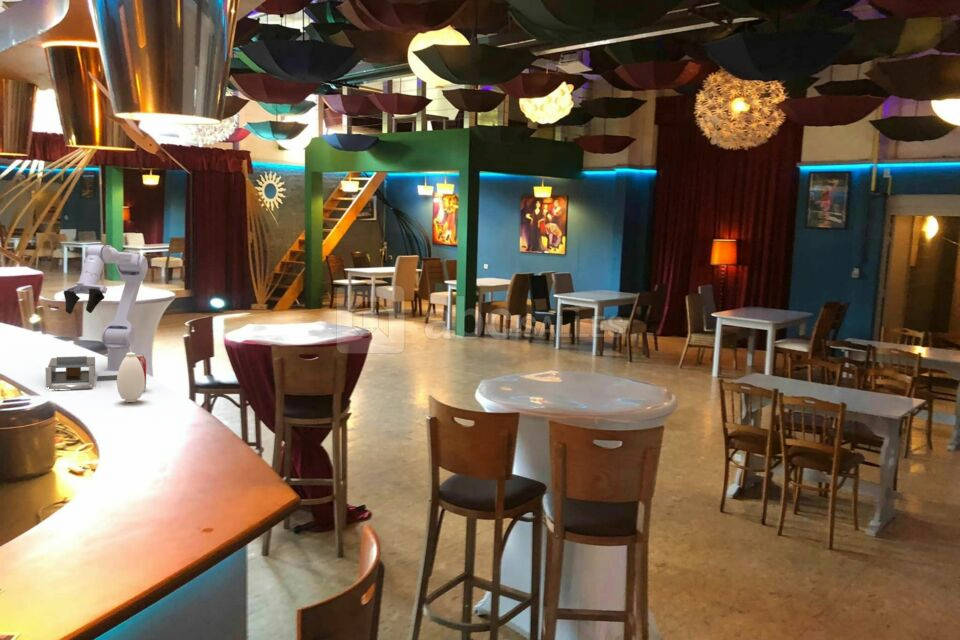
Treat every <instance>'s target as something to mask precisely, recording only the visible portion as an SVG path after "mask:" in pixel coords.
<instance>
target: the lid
mask: <svg viewBox="0 0 960 640" xmlns="http://www.w3.org/2000/svg"><path fill="white" fill-rule="evenodd" d="M94 362H95V363H96V356H86V355H85V356H84V355H83V356H82V355H80V356H56V357H51V359H50V361H49V363H48V367H51V368H56V369H66V368H72V367H81V368H89V366H94Z"/></svg>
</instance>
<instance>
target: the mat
mask: <svg viewBox="0 0 960 640" xmlns="http://www.w3.org/2000/svg"><path fill="white" fill-rule="evenodd" d="M117 375H118V374H117ZM117 375H115V374H114V375H113V374H112V375H111V374H110V375H97V377H96V382H106V381H107V382H108V381H113V382H114V381H117Z"/></svg>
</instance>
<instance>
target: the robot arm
mask: <svg viewBox="0 0 960 640" xmlns="http://www.w3.org/2000/svg"><path fill="white" fill-rule="evenodd" d="M148 262H149V261H148V259H147V257H146V256H145V255H141V254H138V253H133V252H128V251H127V252H126V251H125V252H124V251H118V249H116V248H115V247H113V245H110V244H109V245H107V244H106V245H105V244H99V245H89V246H86V248H85V249H84V258H83V263H84V264H83V268H82V270H81V272H80V273H81V274H80V276H79V280H78V281H76V284H74V285H70V286H68V287H65V288H64V290H63V295H64V301H65V312H66V313H67V314H69V315H70V314H72V313H73V310H74V308H75V307H76V304H77V303H78V301H79V300H80V299H81V298H80V297H79V296H78V295H79V294H82V295H83V294H84V295H88V299H87V303H86V308H85V310H86V312H87V313H89V314H90V313H91V314H92V313H93V311H94V309H95V308H96V307H97V306H98V304H99V303H101V301H102V300H104V299H105V297H106V296H105V294H106V293H107V291H108V288H107V287H106V286H105V285H103V284H102V285H99V281H100V278H101V275H102V271H103V268H104V266H105V264H115V268H116V270H117V272H118V275H119V277H120V279H121V280H122V281H124V282H125V284H124V287H123V291H122V294H121V298H120V300H119V304H118V307H117V310H116V313H115V317H114V319H113V320H112V321H109V322H107V323H106V325H105V327H104V329H103V330H102V333H101V342H102V343H103V345H104V346H105V348H107V351H106V352H107V369H105V370H104V372H118V371H119V368H120V365H121V363H122V361H123V359H124V357H125V355H126V354H127V353H130V345H131V346H132V345H133V344H134V342H135V335H136V328H135V326H134V325H133V324H132V323H130V322H131V319H132V315H133V311H134V308H135V304H136V301H137V298H138V294H139V292H140V291H139V290H140V287H141V283H142V282H143V281H144V280H145V278H146V275H147V273H148V268H149V265H148Z"/></svg>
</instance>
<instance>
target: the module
mask: <svg viewBox="0 0 960 640" xmlns="http://www.w3.org/2000/svg"><path fill="white" fill-rule="evenodd" d="M65 371H66V376H80V375H81V371H82V367H72V368H65Z"/></svg>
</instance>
